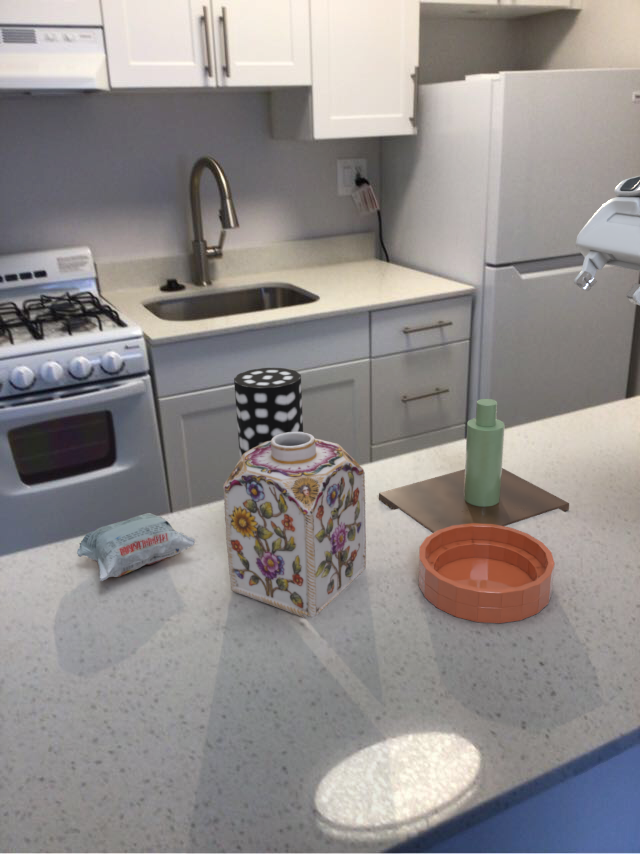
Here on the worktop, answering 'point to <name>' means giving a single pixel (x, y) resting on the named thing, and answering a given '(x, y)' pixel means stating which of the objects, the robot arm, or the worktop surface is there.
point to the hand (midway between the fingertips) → (605, 294)
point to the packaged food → (132, 544)
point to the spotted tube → (267, 405)
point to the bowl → (486, 572)
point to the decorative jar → (295, 522)
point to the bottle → (484, 456)
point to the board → (446, 505)
